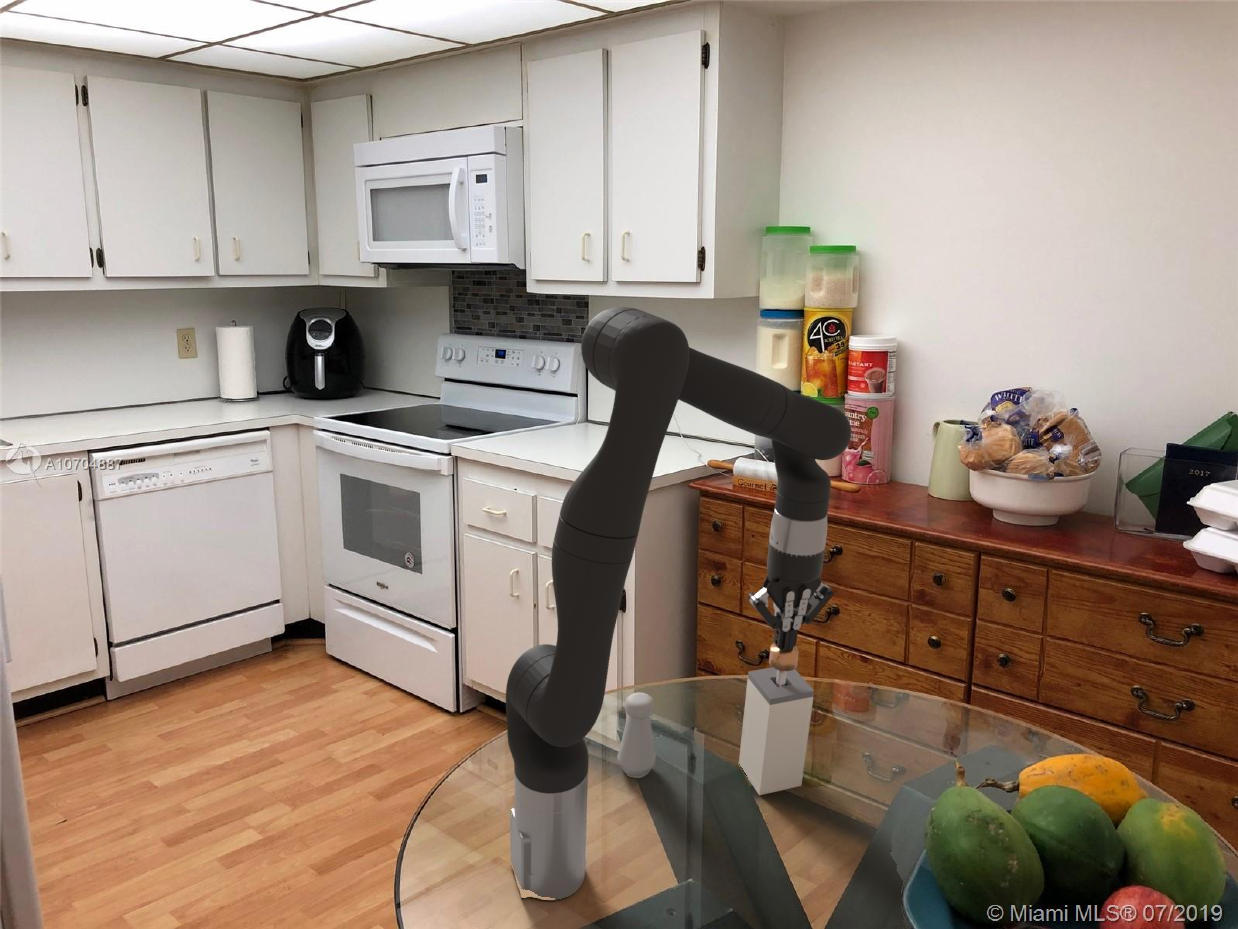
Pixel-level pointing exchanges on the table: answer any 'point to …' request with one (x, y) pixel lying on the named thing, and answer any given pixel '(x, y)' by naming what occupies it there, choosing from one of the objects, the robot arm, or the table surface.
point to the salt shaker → (637, 736)
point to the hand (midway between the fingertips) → (784, 649)
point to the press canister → (775, 730)
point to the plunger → (783, 662)
